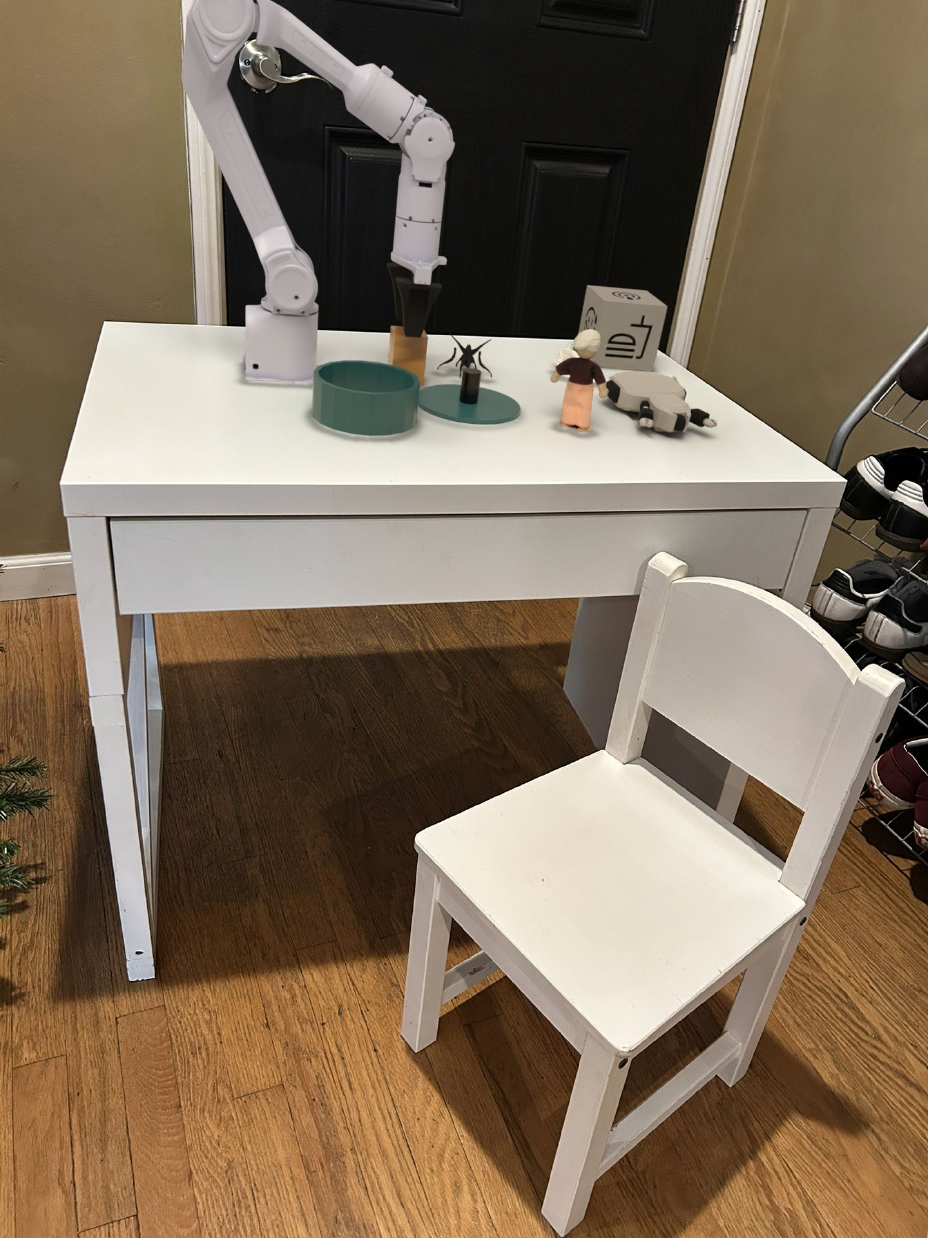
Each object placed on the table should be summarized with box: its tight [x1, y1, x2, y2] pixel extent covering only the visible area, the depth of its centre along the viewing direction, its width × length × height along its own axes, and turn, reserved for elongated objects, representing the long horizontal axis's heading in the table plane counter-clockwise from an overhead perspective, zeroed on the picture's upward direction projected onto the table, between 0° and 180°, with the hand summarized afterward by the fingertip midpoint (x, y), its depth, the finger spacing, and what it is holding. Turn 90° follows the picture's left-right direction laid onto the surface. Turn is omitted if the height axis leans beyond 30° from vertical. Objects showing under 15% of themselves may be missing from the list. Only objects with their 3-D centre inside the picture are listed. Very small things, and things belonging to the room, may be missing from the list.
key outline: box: [555, 348, 596, 383], centre depth 142 cm, size 13×5×2 cm, turn 11°
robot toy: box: [606, 370, 718, 433], centre depth 126 cm, size 12×4×15 cm
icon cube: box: [578, 284, 668, 372], centre depth 149 cm, size 10×10×10 cm
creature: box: [437, 333, 493, 379], centre depth 133 cm, size 8×5×8 cm
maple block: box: [387, 325, 429, 386], centre depth 127 cm, size 4×4×7 cm
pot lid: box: [418, 367, 522, 425], centre depth 121 cm, size 14×14×5 cm
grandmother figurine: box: [549, 329, 608, 432], centre depth 117 cm, size 8×4×13 cm, turn 71°
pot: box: [311, 359, 421, 437], centre depth 113 cm, size 12×13×6 cm
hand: (408, 328), depth 125 cm, fingers open, 7 cm apart
